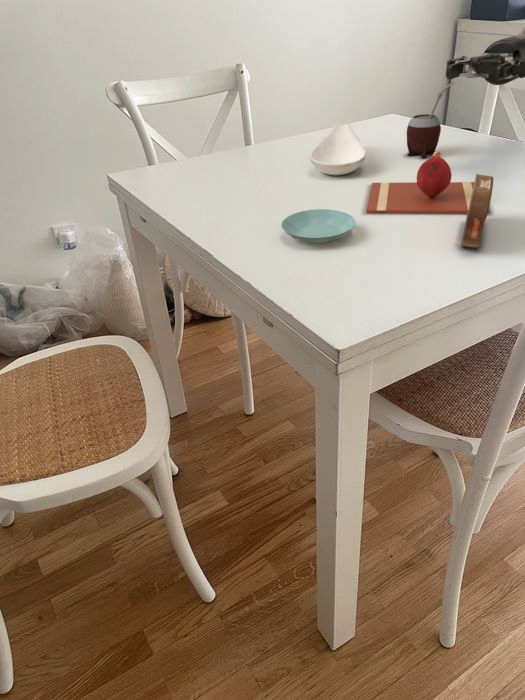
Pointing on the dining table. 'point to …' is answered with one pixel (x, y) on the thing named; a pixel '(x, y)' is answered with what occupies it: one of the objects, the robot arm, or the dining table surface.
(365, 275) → the dining table surface
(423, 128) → the mate gourd
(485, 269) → the dining table surface
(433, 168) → the red pomegranate
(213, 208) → the dining table surface
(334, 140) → the spoon rest
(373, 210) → the towel
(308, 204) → the dining table surface
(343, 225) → the saucer
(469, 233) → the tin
